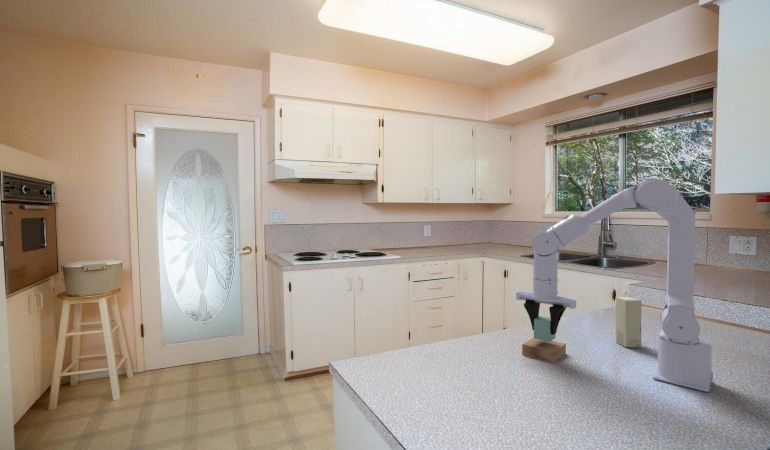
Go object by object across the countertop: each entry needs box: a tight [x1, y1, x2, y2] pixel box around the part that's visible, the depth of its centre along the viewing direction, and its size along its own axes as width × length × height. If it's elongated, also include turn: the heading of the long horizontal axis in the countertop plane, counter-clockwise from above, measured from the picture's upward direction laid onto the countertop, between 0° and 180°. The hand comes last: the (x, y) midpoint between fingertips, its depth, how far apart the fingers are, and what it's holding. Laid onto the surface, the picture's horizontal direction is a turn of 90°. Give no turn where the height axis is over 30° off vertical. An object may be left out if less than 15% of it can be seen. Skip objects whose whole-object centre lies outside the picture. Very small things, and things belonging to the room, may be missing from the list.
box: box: [615, 296, 642, 348], centre depth 106 cm, size 5×4×13 cm
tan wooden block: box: [521, 337, 567, 363], centre depth 99 cm, size 8×8×3 cm
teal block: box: [533, 315, 557, 342], centre depth 99 cm, size 4×4×5 cm
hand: (544, 331), depth 99 cm, fingers closed on teal block, 4 cm apart
